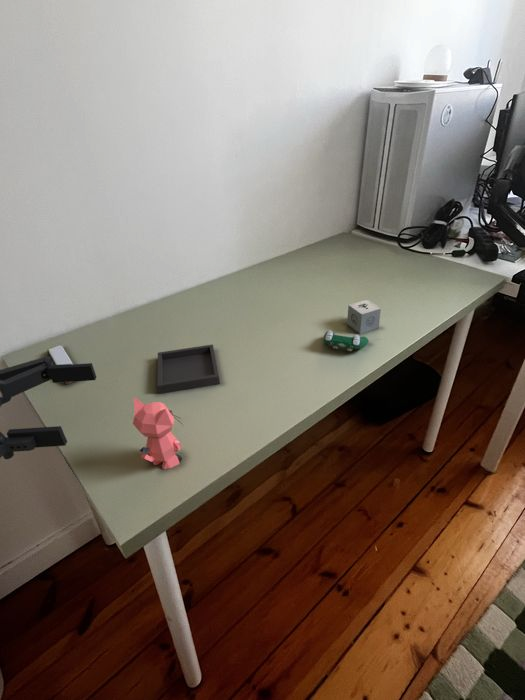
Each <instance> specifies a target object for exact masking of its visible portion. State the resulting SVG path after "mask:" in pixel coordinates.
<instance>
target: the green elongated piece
mask: <svg viewBox="0 0 525 700" xmlns="http://www.w3.org/2000/svg"><path fill="white" fill-rule="evenodd" d="M323 342H324V344H326V345H329V346H330V345H332V346H333V349H335V350H339V348H341V347H345V348H346V350H347V351H348V352H352V351H353V350H362V349H364V348H365V347H366V346H367V345H368V344H369V338H368V337H367V336H360V335H359V334H355V335H354V336H352V337H351V336H345V335H338V334H335V333H334V332H333V331H332V330H328V331H326V332H324V335H323Z"/></svg>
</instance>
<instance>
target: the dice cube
mask: <svg viewBox="0 0 525 700" xmlns="http://www.w3.org/2000/svg"><path fill="white" fill-rule="evenodd" d="M381 310H382V308H380V307H379V306H377V304H375V303H373V302H371V301H370V300H369V299H365V300H361V301H357V302H354V303H349V304H348V308H347V320H346V324H347V326H349V327H350V328H351V329H353V330H354V331H355V332H357V334H358V335H359V334H360V335H362V334H365V333H367V332H372V331H374V330H377V329H379V328H380V319H381V312H382V311H381Z"/></svg>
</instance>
